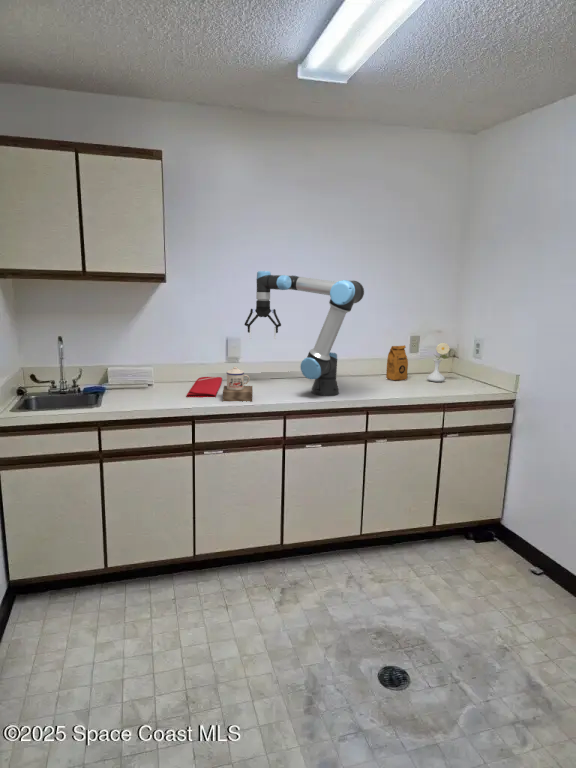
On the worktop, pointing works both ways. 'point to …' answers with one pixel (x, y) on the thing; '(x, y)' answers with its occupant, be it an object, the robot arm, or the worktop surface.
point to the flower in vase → (436, 376)
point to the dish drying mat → (205, 387)
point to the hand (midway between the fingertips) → (262, 338)
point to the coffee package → (397, 363)
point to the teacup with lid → (236, 379)
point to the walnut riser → (238, 394)
